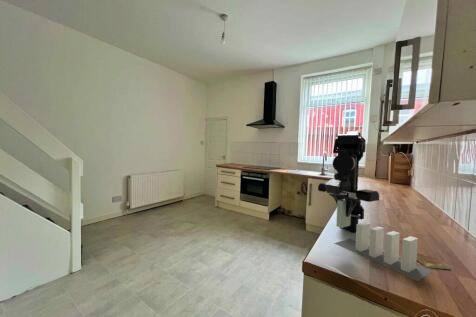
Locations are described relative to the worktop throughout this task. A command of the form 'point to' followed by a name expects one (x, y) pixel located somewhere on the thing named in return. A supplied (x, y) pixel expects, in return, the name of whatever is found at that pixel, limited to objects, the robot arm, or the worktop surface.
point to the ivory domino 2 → (376, 241)
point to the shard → (431, 262)
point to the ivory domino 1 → (362, 236)
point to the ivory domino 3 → (391, 247)
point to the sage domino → (342, 214)
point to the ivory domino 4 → (409, 253)
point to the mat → (414, 274)
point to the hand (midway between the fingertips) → (344, 215)
